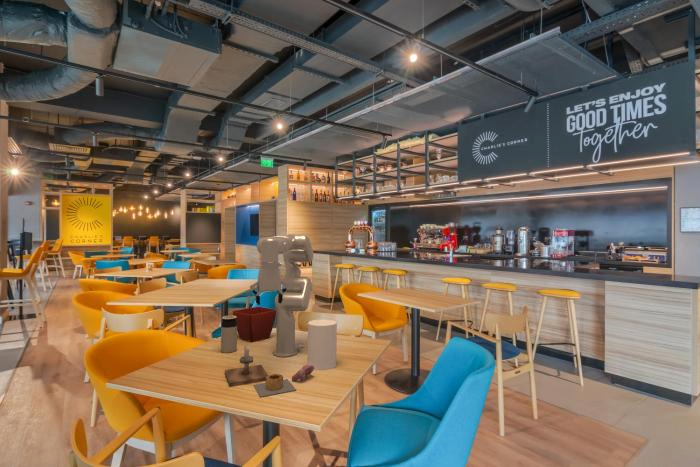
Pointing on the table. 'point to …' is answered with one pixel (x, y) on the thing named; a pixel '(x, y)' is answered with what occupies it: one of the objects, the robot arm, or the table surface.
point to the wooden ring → (274, 382)
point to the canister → (322, 344)
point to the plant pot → (254, 323)
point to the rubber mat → (286, 388)
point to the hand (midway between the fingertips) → (269, 303)
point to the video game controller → (303, 372)
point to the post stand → (245, 372)
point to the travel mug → (229, 334)
